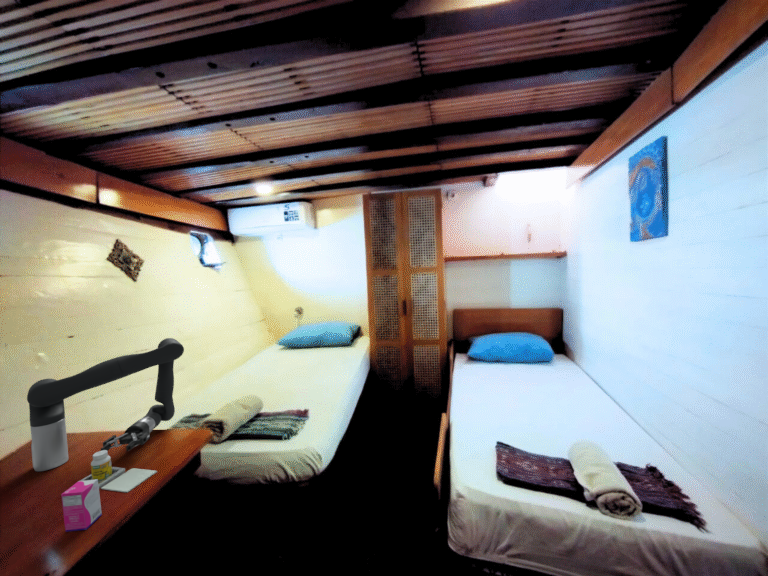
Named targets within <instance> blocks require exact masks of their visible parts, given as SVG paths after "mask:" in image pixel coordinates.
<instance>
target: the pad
mask: <svg viewBox="0 0 768 576" xmlns="http://www.w3.org/2000/svg"><path fill="white" fill-rule="evenodd" d="M157 473H158V471H157V470H155V469H154V470H153V469H143V468H136V467H135V468H134V467H133V468H130V469H129V470H127V471H125V473H123V474H121V475H120V476H118V477H117V478H115V479H114V480H112V481H110V482H109V483H107V484H106V485H104V486H102V487H101V488H100V490H105V491H112V492H119V493H120V492H121V493H127V494H128V493H129V492H130V491H132V490H133V489H134V488H136V487H138V486H139V485H141V484H142V483H143V482H146V481H147V480H148V479H150V477H152V476H153V475H155V474H157Z"/></svg>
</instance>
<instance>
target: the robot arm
mask: <svg viewBox="0 0 768 576" xmlns="http://www.w3.org/2000/svg"><path fill="white" fill-rule="evenodd" d="M184 352H185V348H184V345H183V344H182V343H181V342H179V341H178V340H177V339H175V338H173V337H167V338H164V339H162V340H161V341H160V342H159V343H158V345H157V347H156V348H155V349H152V350H149V351H146V352H140V353H135V354H134V353H133V354H132V353H131V354H126V355H125V354H124V355H121V356H116V357H113V358H110V359H107V360H104V361H102V362H99V363H97V364H95V365H93V366H91V367H88V368H87V369H84V370H83V371H81V372H78V373H76V374H73V375H72V376H68V377H64V378H62V379H61V378H60V379H54V378H44V379H40V380H37V381H36V382H34V383H33V384H32V385H31V386H30V387H29V388H28V390H27V391H28V392H27V395H26V400H27V402H28V407H29V408H28V409H29V425H30V435H31V436H30V437H31V445H30V449H31V457H32V458H31V459H32V460H31V461H32V468H33V469H34V471H35V472H44V471H48V470H49V471H50V470H52V469H55V468H57V467H60V466H62V465H63V464H65V463H67V462H68V461H69V451H68V450H69V449H68V448H69V447H68V436H67V426H66V416H65V415H66V414H65V413H66V411H65V410H66V409H65V402H64V401H65V400H66V399H68V398H70V397H72V396H74V395H76V394H79V393H82V392H85V391H87V390H90V389H94V388H96V387H99V386H102V385H106V384H110V383H112V382H115V381H117V380H120V379H123V378H125V377H128V376H130V375H133V374H137V373H139V372H141V371H144V370H147V369H148V368H149V369H150V368H151V367H155V366H158V371H157V379H156V386H155V392H154V393H155V394H154V400H155V402H157V403H160V404H155V405H152V406H151V407H150V408H149V410H148V411H147V413H146V415H144V416H143V417H141V418H140V419H138V420H137V421H135V422H134V423H132V424H131V425H130V426H129V427H127V428H126V429H125V431H124V433H123V434H120V435H119V436H117V435H116V434H114V435H112V436H111V437H109V438H107V439H106V440H105V441H102V447H101V448H100V451H102V450H107V451H109V450H111V449H113V448H118V447H121V446H122V445H126V446H125V452H130V451H131V450H132V449H134V448H135V447H137V446H139V445H140V446H143V445H144V444H145V443H146V442H147V441H148V440H149V439H150V438H151V436H150V434H151V432H153V430H154V429H155V428H156V427H158V426H159V425H160V423H161V422H168V421H171V420H172V419H173V417H174V416H175V411H176V410H175V404H174V398H173V395H174V387H175V377H174V374H175V373H174V363H175V361H176V360H177V359H179V358H181V356H183V354H184ZM118 442H119V443H118Z"/></svg>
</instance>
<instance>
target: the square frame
mask: <svg viewBox="0 0 768 576" xmlns="http://www.w3.org/2000/svg"><path fill="white" fill-rule="evenodd" d="M124 473H126V467H117V466H112V475H110V476H109V477H107V478H105V479H104V480H102V481H101V482H98V485H99V489H101V488H102V487H103V486H105V485H106V484H108V483H110V482H111V481H113V480H114V479H116V478H118V477H119V476H121V475H122V474H124ZM86 480H92V473H90V474H89V475H87V476H85V477H84V478H82V479H80V480H79V481H86Z"/></svg>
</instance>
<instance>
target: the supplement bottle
mask: <svg viewBox="0 0 768 576" xmlns="http://www.w3.org/2000/svg"><path fill="white" fill-rule="evenodd" d="M108 451H109V450H108ZM108 451H107V450H102V451H101V450H99V451H96V452H95V453H93V454H92V461H91V462H90V469H91V470H90V471H91V474H92V480H95V479H98V482H101V481H102V480H104V479H105V478H107V477H109V476H110V475H112V474H113V473H112V467H113V466H112V458H111V456H110V455H109V453H108Z"/></svg>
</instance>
